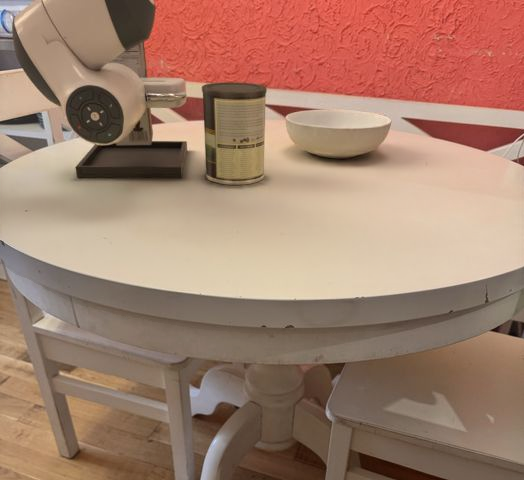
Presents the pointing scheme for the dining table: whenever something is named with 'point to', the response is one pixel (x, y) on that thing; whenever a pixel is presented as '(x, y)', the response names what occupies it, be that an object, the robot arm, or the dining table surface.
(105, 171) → the tray
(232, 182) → the coffee can
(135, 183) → the dining table surface
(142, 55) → the coffee box
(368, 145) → the serving bowl
